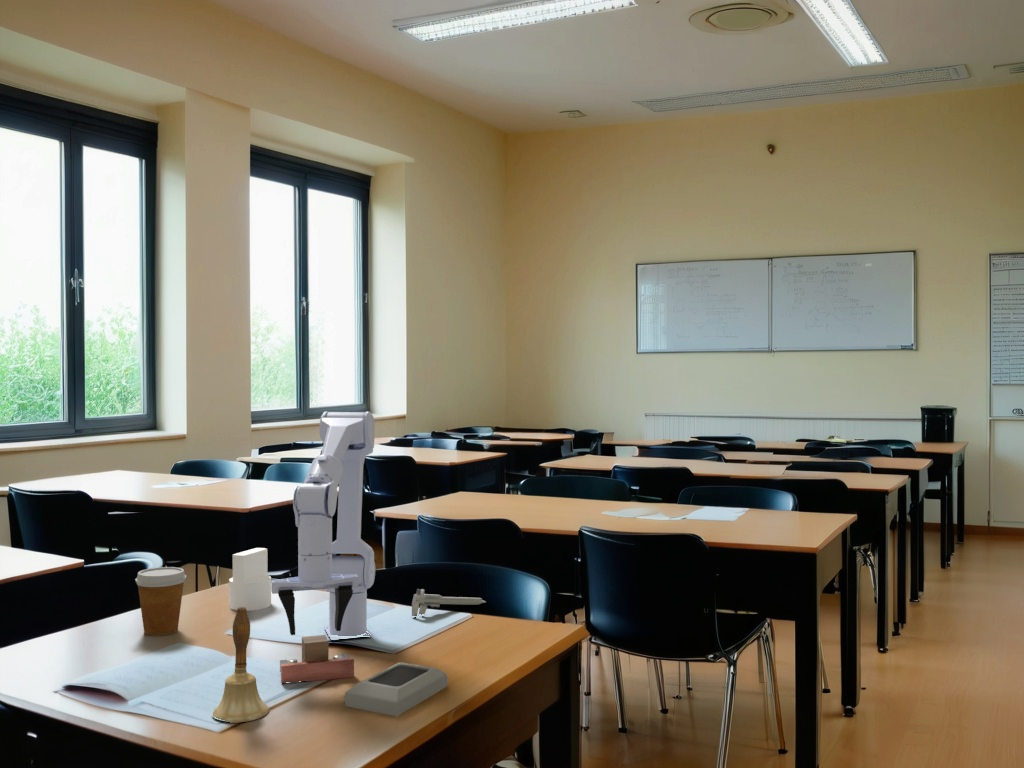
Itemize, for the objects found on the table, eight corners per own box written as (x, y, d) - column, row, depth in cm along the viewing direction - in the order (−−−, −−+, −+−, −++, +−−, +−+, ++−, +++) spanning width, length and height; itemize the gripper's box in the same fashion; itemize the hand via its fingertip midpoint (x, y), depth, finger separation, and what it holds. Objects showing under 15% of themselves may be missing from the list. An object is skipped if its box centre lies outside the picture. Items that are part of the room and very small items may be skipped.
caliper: (414, 620, 194) (414, 590, 194) (411, 619, 195) (411, 589, 195) (485, 603, 208) (486, 576, 208) (482, 602, 209) (482, 575, 209)
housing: (278, 671, 159) (278, 654, 159) (347, 665, 163) (347, 648, 163) (281, 684, 153) (281, 666, 153) (354, 676, 157) (354, 659, 157)
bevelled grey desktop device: (345, 685, 143) (399, 658, 157) (345, 708, 143) (398, 680, 157) (396, 694, 139) (447, 666, 152) (396, 719, 139) (447, 688, 152)
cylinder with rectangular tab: (254, 612, 199) (254, 556, 199) (220, 608, 202) (220, 553, 202) (279, 602, 208) (279, 549, 207) (246, 599, 211) (246, 546, 211)
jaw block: (301, 671, 160) (301, 636, 160) (325, 669, 161) (325, 634, 161) (304, 678, 156) (304, 643, 156) (328, 676, 157) (328, 641, 157)
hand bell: (219, 704, 144) (219, 602, 144) (273, 702, 144) (273, 601, 144) (205, 724, 135) (205, 616, 135) (263, 722, 136) (263, 615, 136)
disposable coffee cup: (124, 635, 181) (124, 574, 181) (159, 623, 190) (159, 565, 190) (162, 640, 178) (162, 578, 178) (196, 628, 187) (196, 568, 186)
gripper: (273, 560, 152) (273, 641, 153) (361, 554, 157) (361, 633, 157) (270, 552, 159) (270, 630, 159) (354, 546, 164) (354, 623, 164)
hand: (315, 631), depth 159 cm, fingers open, 7 cm apart
